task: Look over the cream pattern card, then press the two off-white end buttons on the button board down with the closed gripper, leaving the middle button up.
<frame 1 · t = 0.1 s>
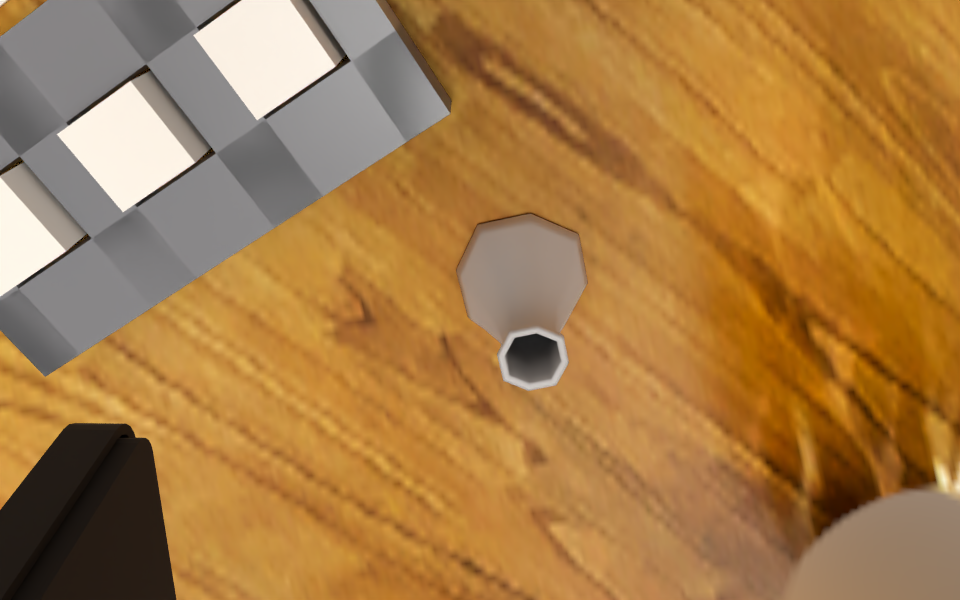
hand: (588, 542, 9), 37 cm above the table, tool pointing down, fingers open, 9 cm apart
flask: (521, 273, 49), on the table
button a: (17, 225, 44), point 3 cm above the table, slide at 0.0 cm
button board: (161, 123, 45), on the table
button c: (273, 44, 40), point 3 cm above the table, slide at 0.0 cm
button b: (140, 139, 42), point 3 cm above the table, slide at 0.0 cm
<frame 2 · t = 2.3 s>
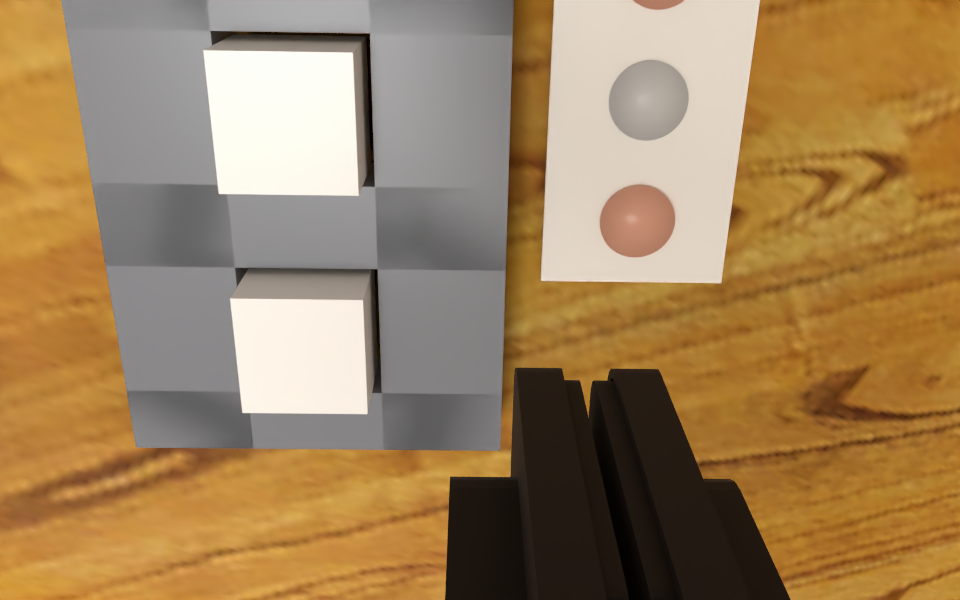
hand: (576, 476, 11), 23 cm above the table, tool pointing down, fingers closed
pattern card: (646, 98, 32), on the table
button board: (310, 93, 32), on the table
button c: (309, 334, 32), point 3 cm above the table, slide at 0.0 cm
button b: (294, 113, 29), point 3 cm above the table, slide at 0.0 cm
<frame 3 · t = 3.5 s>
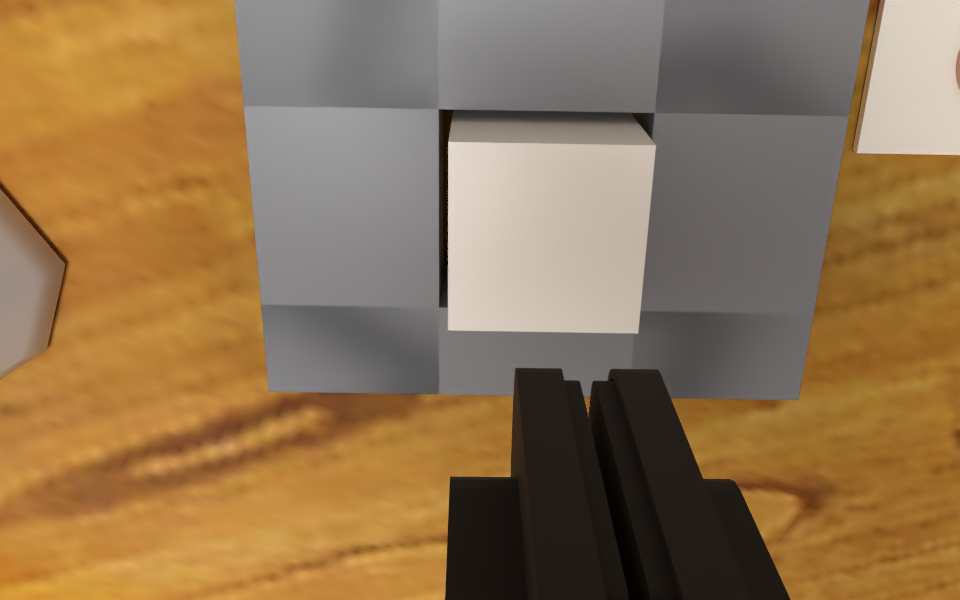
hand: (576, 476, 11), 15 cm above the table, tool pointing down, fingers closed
button c: (542, 217, 21), point 3 cm above the table, slide at 0.0 cm
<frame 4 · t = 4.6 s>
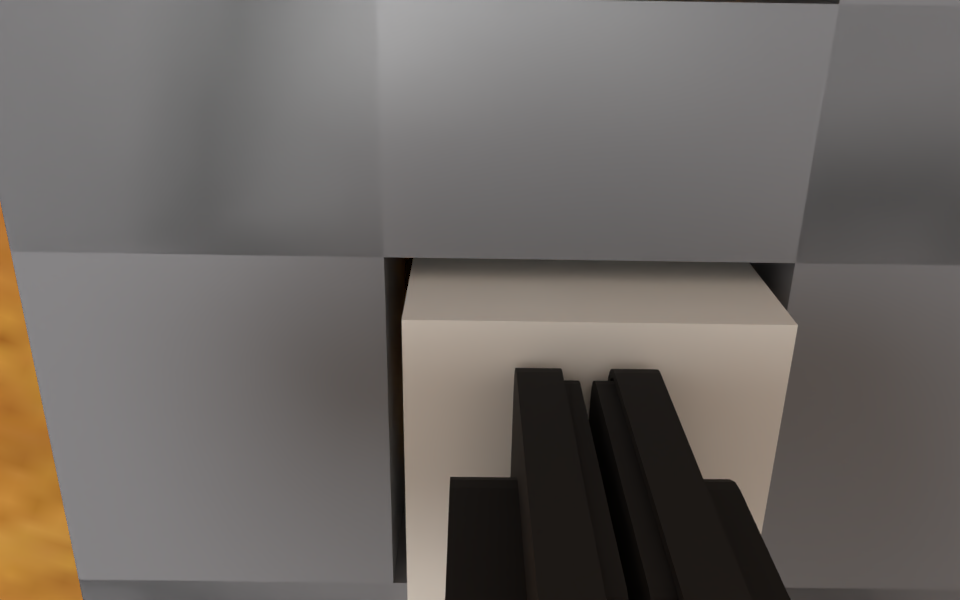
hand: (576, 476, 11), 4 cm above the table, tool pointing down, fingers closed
button c: (572, 411, 12), point 2 cm above the table, slide at 0.9 cm, touching gripper
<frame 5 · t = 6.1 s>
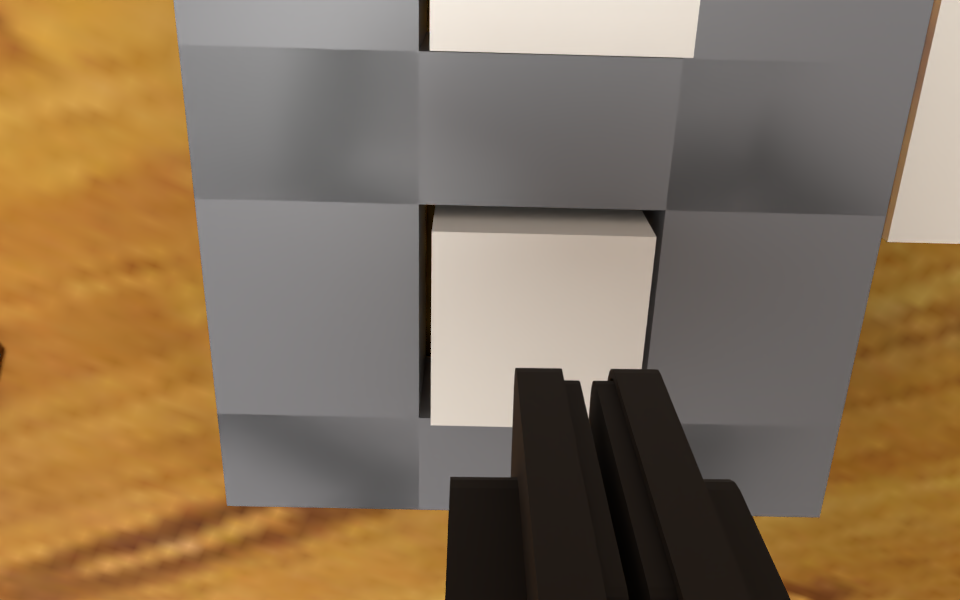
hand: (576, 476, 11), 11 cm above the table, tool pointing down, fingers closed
button c: (533, 300, 20), point 2 cm above the table, slide at 1.2 cm
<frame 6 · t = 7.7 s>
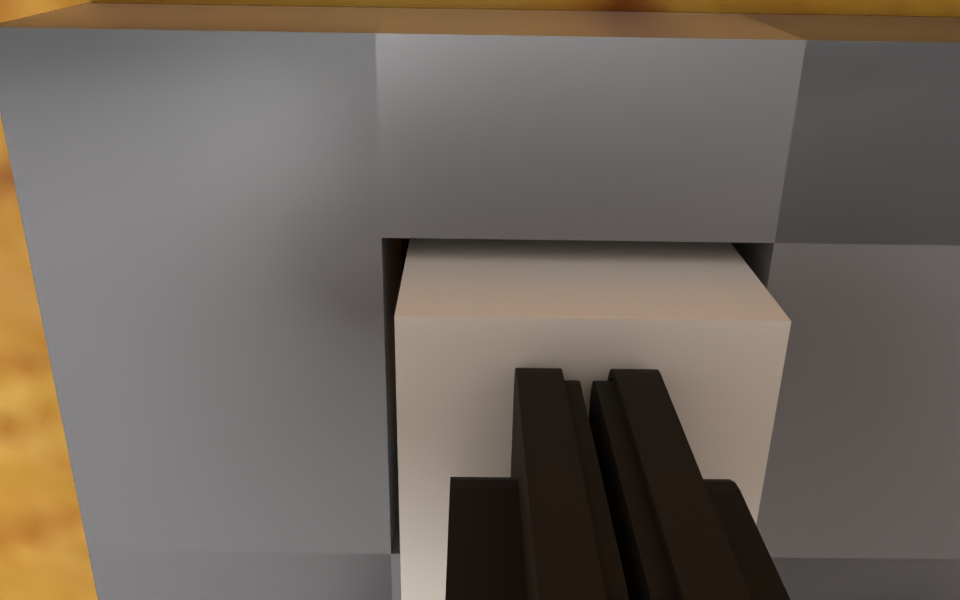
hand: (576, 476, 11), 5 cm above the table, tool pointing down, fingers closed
button a: (566, 407, 12), point 3 cm above the table, slide at 0.3 cm, touching gripper
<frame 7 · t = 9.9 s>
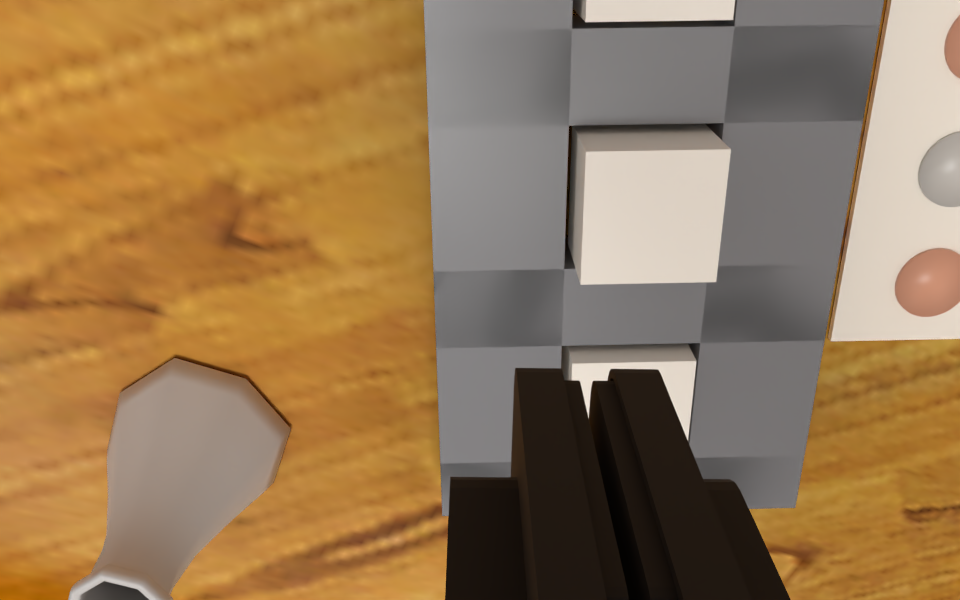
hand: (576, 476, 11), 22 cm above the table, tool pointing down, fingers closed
pattern card: (952, 166, 32), on the table
flask: (201, 432, 37), on the table
button board: (625, 172, 32), on the table
button c: (622, 389, 34), point 2 cm above the table, slide at 1.2 cm
button b: (642, 200, 29), point 3 cm above the table, slide at 0.0 cm
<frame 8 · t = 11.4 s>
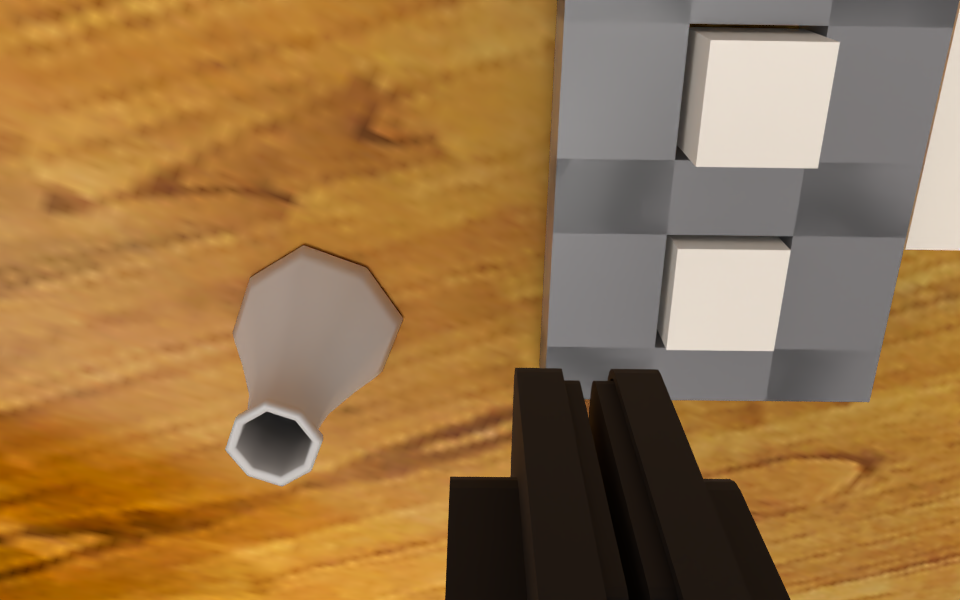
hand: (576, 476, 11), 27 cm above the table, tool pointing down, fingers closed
flask: (319, 321, 40), on the table
button board: (728, 80, 35), on the table
button c: (715, 283, 37), point 2 cm above the table, slide at 1.2 cm
button b: (751, 96, 33), point 3 cm above the table, slide at 0.0 cm
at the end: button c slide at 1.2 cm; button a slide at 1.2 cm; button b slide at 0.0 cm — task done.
